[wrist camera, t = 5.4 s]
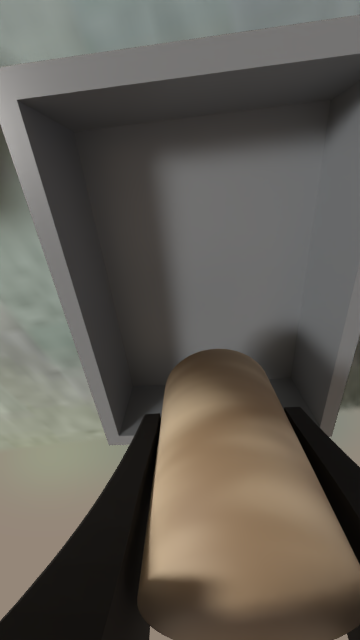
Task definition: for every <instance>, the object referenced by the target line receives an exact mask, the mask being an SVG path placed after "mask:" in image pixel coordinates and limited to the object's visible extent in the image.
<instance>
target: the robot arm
mask: <svg viewBox="0 0 360 640" xmlns="http://www.w3.org/2000/svg"><path fill="white" fill-rule="evenodd" d="M284 412H285V414H286V416H287V418H288V420H289V422H290V424H291V426H292V428H293V430H294V432H295V434H296V436H297V438H298V440H299V442H300V444H301V446H302V448H303V450H304V452H305V454H306V456H307V458H308V460H309V462H310V464H311V466H312V468H313V471H314V473H315V475H316V477H317V479H318V481H319V483H320V485H321V487H322V489H323V491H324V493H325V495H326V497H327V499H328V501H329V503H330V505H331V507H332V509H333V511H334V513H335V515H336V517H337V519H338V521H339V523H340V525H341V527H342V530H343V532H344V534H345V536H346V538H347V540H348V542H349V544H350V546H351V548H352V550H353V552H354V554H355V556H356V558H357V560H358V562H359V564H360V467H359V466H357V464H356V463H355V462H354V461H352V460H351V459H350V458H349V457H348V456H347V455H346V454H345V453H344V452H343V451H342V450H341V449H340V448H339V447H338V446H337V445H336V444H335V443H334V442H333V441H332V440H331V439H330V438H329V437H328V436H327V435H326V434H325V433H324V431H323V430H322V429H321V428H320V427H319V426H318V425H317V424H316V423H315V422H314V421H313V420H312V419H311V418H310V417H309V416H308V415H307V413H306V412H305V411H304V410H303V409H302V408H301V407H284ZM160 422H161V417H160V413H156V414H145V415H144V416H143V418H142V421H141V423H140V425H139V427H138V429H137V431H136V433H135V436H134V438H133V439H132V441H131V443H130V446H129V447H128V449H127V451H126V453H125V455H124V456H123V459H122V460H121V462H120V464H119V465H118V467H117V469H116V470H115V472H114V474H113V475H112V477H111V479H110V480H109V482H108V483H107V485H106V487H105V489H104V490H103V492H102V493H101V495H100V496H99V498H98V499H97V501H96V502H95V504H94V505H93V507H92V508H91V510H90V511H89V512H88V514H87V515H86V517H85V518H84V520H83V521H82V522H81V524H80V525H79V526H78V528H77V529H76V531H75V532H74V533H73V534H72V536H71V537H70V538H69V540H68V541H67V542H66V544H65V545H64V546H63V547H62V549H61V550H60V551H59V553H58V554H57V555H56V556H55V558H54V559H53V560H52V561H51V563H50V564H49V565H48V566H47V567H46V569H45V570H44V571H43V572H42V574H41V575H40V576H39V577H38V578H37V579H36V581H35V582H34V583H33V584H32V586H31V587H30V588H29V589H28V590H27V591H26V592H25V594H24V595H23V596H22V597H21V598H20V600H19V601H18V602H17V603H16V604H15V605H14V606H13V608H12V609H11V610H10V611H9V612H8V613H7V614H6V615H5V616H4V617H3V618H2V620H1V621H0V640H149V633H150V625H149V624H148V623H147V622H146V621H145V620H144V619H143V617H142V616H141V614H140V612H139V609H138V606H137V596H138V589H139V581H140V574H141V566H142V558H143V551H144V543H145V536H146V528H147V521H148V513H149V505H150V498H151V490H152V483H153V475H154V468H155V460H156V452H157V445H158V437H159V430H160ZM347 635H348V639H349V640H360V625H359V626H357V627H356V628H355V629H353V630H352V631H350V632H349V633H347Z"/></svg>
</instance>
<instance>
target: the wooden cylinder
mask: <svg viewBox="0 0 360 640" xmlns="http://www.w3.org/2000/svg"><path fill="white" fill-rule="evenodd" d="M137 606H138V609H139V612H140V614H141V616H142V617H143V619H144V620H145V621H146V622H147V623H148V624H149V625H150V626H151V627H152V628H154V629H155V630H156V631H158V632H159V633H161V634H163V635H164V636H167V637H169V638H171V639H173V640H334V639H337V638H339V637H341V636H343V635H345V634H347V633H349V632H350V631H352V630H353V629H355V628H356V627H357V626H359V625H360V564H359V562H358V560H357V558H356V556H355V554H354V552H353V550H352V548H351V546H350V544H349V542H348V540H347V538H346V536H345V534H344V532H343V530H342V527H341V525H340V523H339V521H338V519H337V517H336V515H335V513H334V511H333V509H332V507H331V505H330V503H329V501H328V499H327V497H326V495H325V493H324V491H323V489H322V487H321V485H320V483H319V481H318V479H317V477H316V475H315V473H314V471H313V468H312V466H311V464H310V462H309V460H308V458H307V456H306V454H305V452H304V450H303V448H302V446H301V444H300V442H299V440H298V438H297V436H296V434H295V432H294V430H293V428H292V426H291V424H290V422H289V420H288V418H287V416H286V414H285V412H284V409H283V407H282V405H281V403H280V401H279V399H278V397H277V395H276V393H275V391H274V389H273V387H272V385H271V383H270V381H269V379H268V377H267V375H266V373H265V371H264V370H263V368H262V367H261V366H260V365H259V364H258V363H257V362H256V361H255V360H254V359H252V358H251V357H249V356H247V355H245V354H243V353H241V352H238V351H234V350H229V349H209V350H204V351H200V352H197V353H195V354H192V355H190V356H188V357H187V358H185V359H183V360H182V361H181V362H179V363H178V364H177V365H176V366H175V367H174V369H173V370H172V371H171V373H170V375H169V376H168V379H167V382H166V386H165V392H164V400H163V407H162V415H161V422H160V430H159V437H158V445H157V452H156V460H155V468H154V475H153V483H152V490H151V498H150V505H149V513H148V521H147V528H146V536H145V543H144V551H143V558H142V566H141V574H140V581H139V589H138V596H137Z"/></svg>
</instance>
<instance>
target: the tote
mask: <svg viewBox="0 0 360 640" xmlns="http://www.w3.org/2000/svg"><path fill="white" fill-rule="evenodd" d="M0 125H1V128H2V131H3V134H4V137H5V140H6V142H7V145H8V148H9V151H10V154H11V157H12V160H13V163H14V166H15V169H16V172H17V175H18V178H19V181H20V184H21V187H22V190H23V193H24V196H25V199H26V202H27V205H28V207H29V210H30V213H31V216H32V219H33V222H34V225H35V228H36V231H37V234H38V237H39V240H40V243H41V246H42V249H43V252H44V255H45V258H46V261H47V264H48V267H49V269H50V272H51V275H52V278H53V281H54V284H55V287H56V290H57V293H58V296H59V299H60V302H61V305H62V308H63V311H64V314H65V317H66V320H67V323H68V326H69V329H70V332H71V334H72V337H73V340H74V343H75V346H76V349H77V352H78V355H79V358H80V361H81V364H82V367H83V370H84V373H85V376H86V379H87V382H88V385H89V388H90V391H91V394H92V397H93V399H94V402H95V405H96V408H97V411H98V414H99V417H100V420H101V423H102V426H103V429H104V432H105V435H106V438H107V441H108V444H109V445H126V444H130V443H131V441H132V439H133V438H134V436H135V433H136V431H137V429H138V427H139V425H140V423H141V421H142V418H143V416H144V415H145V414H156V413H160V417H161V415H162V407H163V400H164V392H165V386H166V382H167V379H168V376H169V375H170V373H171V371H172V370H173V369H174V367H175V366H176V365H177V364H178V363H179V362H181V361H182V360H183V359H185V358H187V357H188V356H190V355H192V354H195V353H197V352H200V351H204V350H209V349H229V350H234V351H238V352H241V353H243V354H245V355H247V356H249V357H251V358H252V359H254V360H255V361H256V362H257V363H258V364H259V365H260V366H261V367H262V368H263V370H264V371H265V373H266V375H267V377H268V379H269V381H270V383H271V385H272V387H273V389H274V391H275V393H276V395H277V397H278V399H279V401H280V403H281V405H282V407H283V409H284V407H301V408H302V409H303V410H304V411H305V412H306V413H307V415H308V416H309V417H310V418H311V419H312V420H313V421H314V422H315V423H316V424H317V425H318V426H319V427H320V428H321V429H322V430H323V431H324V433H325V434H326V435H327V436H328V437H330V436H332V433H333V430H334V426H335V423H336V419H337V415H338V412H339V408H340V405H341V401H342V397H343V394H344V390H345V386H346V383H347V379H348V376H349V372H350V368H351V365H352V361H353V358H354V354H355V350H356V347H357V343H358V340H359V336H360V15H355V16H348V17H341V18H334V19H327V20H320V21H314V22H307V23H300V24H293V25H286V26H279V27H272V28H265V29H258V30H251V31H245V32H238V33H231V34H224V35H217V36H210V37H203V38H196V39H189V40H182V41H175V42H169V43H162V44H155V45H148V46H141V47H134V48H127V49H120V50H113V51H106V52H100V53H93V54H86V55H79V56H72V57H65V58H58V59H51V60H44V61H37V62H30V63H24V64H17V65H10V66H3V67H0Z"/></svg>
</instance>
